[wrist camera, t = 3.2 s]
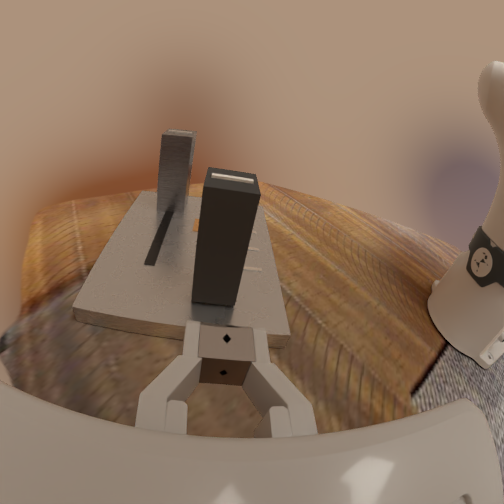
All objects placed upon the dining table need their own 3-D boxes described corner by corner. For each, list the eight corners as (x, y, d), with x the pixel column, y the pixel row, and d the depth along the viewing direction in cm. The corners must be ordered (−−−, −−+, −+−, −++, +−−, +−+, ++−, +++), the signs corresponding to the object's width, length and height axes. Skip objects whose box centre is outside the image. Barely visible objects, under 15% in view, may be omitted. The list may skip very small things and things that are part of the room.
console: (258, 210, 48) (275, 138, 41) (284, 348, 25) (338, 226, 18) (145, 195, 45) (151, 121, 38) (76, 321, 22) (45, 189, 14)
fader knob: (234, 275, 29) (256, 172, 23) (234, 305, 25) (261, 192, 19) (195, 270, 28) (208, 164, 22) (191, 301, 24) (203, 183, 18)
